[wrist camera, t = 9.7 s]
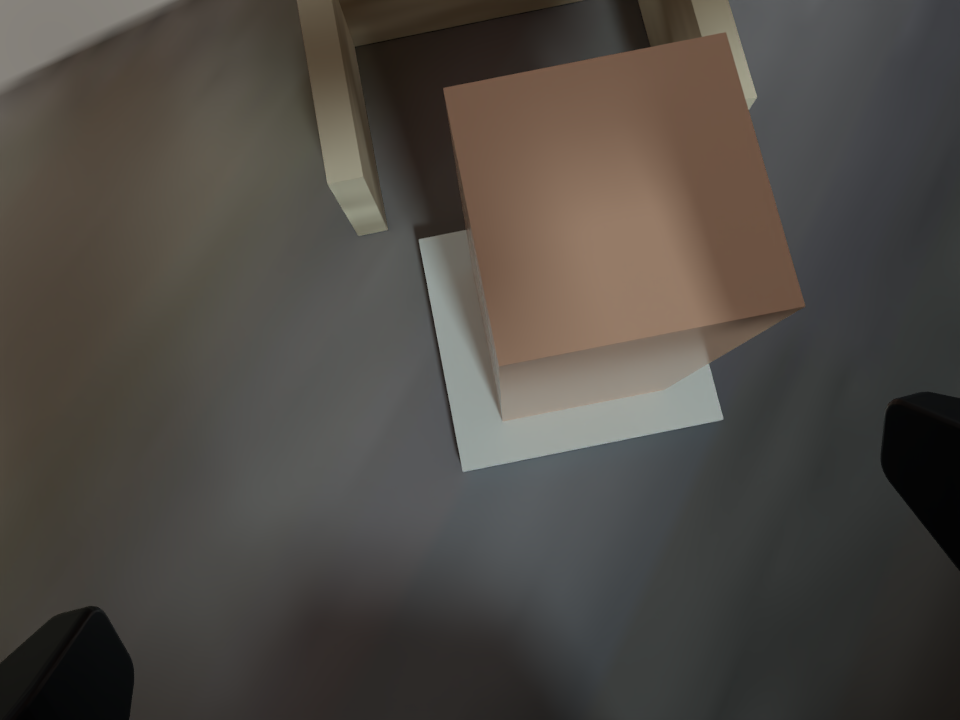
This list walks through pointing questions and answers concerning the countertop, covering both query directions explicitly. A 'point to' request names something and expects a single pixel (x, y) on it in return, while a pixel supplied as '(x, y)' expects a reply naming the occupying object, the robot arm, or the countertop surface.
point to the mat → (544, 433)
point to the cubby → (423, 8)
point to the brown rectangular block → (616, 223)
